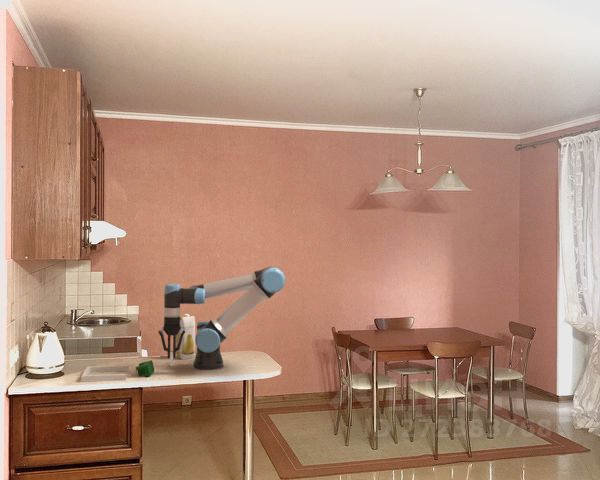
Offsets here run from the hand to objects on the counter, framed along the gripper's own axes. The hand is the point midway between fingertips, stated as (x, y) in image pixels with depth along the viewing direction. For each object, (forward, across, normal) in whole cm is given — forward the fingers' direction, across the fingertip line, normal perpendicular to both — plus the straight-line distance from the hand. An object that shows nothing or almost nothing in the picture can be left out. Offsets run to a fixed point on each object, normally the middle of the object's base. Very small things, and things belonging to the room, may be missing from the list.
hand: (171, 364), depth 299 cm
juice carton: (+4, -7, -36) cm, 37 cm away
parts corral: (+5, +30, -1) cm, 30 cm away
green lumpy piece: (+5, +12, 0) cm, 13 cm away
